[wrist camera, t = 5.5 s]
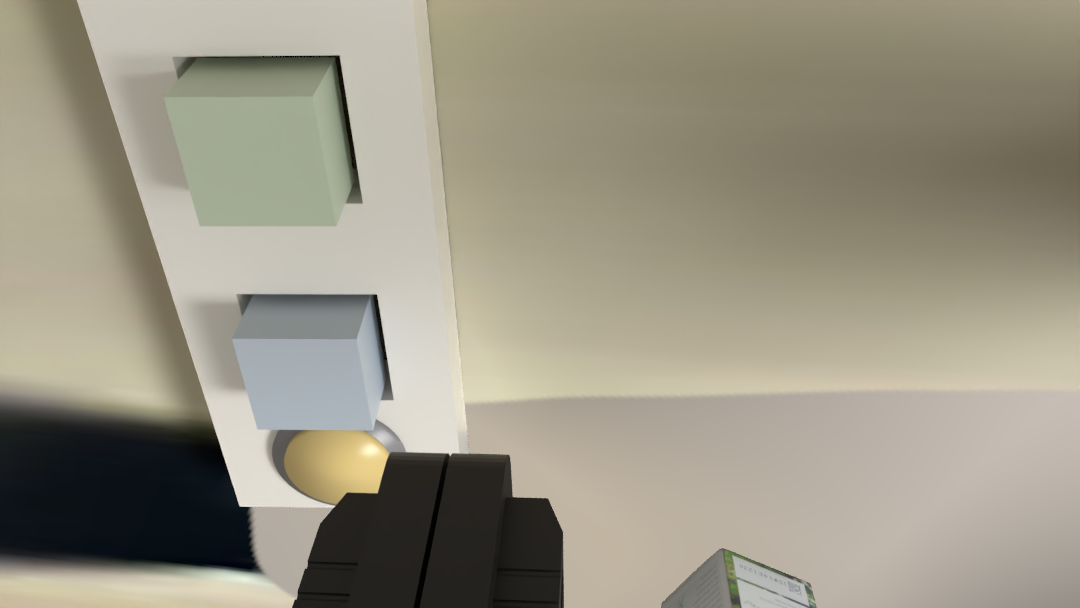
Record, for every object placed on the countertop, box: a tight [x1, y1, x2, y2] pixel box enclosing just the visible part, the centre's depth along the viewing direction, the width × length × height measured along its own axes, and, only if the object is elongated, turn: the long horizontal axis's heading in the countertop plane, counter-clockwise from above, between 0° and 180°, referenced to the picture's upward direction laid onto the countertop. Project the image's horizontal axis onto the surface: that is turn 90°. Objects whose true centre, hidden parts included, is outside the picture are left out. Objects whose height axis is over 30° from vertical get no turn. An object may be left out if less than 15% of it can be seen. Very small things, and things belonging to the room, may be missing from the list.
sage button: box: [163, 57, 355, 226], centre depth 29 cm, size 4×4×3 cm
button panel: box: [77, 0, 469, 508], centre depth 31 cm, size 10×32×3 cm, turn 1°
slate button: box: [232, 294, 386, 430], centre depth 34 cm, size 4×4×3 cm
